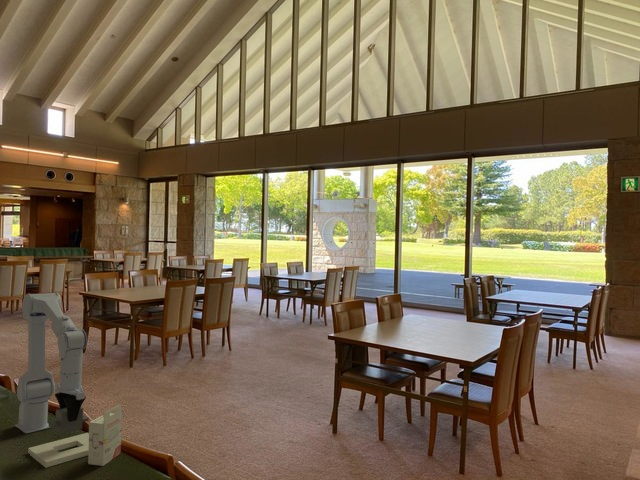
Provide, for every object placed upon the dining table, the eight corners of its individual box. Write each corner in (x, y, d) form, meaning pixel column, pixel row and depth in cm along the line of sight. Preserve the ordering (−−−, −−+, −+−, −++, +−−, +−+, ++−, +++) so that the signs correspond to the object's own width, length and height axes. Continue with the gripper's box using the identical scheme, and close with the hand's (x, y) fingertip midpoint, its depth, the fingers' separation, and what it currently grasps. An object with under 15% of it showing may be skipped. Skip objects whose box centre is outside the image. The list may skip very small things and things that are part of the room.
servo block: (47, 432, 142) (48, 409, 142) (83, 423, 150) (83, 401, 150) (53, 436, 140) (54, 412, 140) (89, 427, 147) (89, 404, 147)
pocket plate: (27, 453, 142) (28, 448, 142) (87, 437, 155) (87, 432, 155) (45, 467, 134) (45, 462, 134) (107, 449, 147) (107, 444, 147)
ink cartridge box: (106, 452, 145) (107, 401, 145) (121, 454, 144) (123, 403, 144) (86, 464, 137) (88, 411, 137) (102, 466, 136) (104, 412, 136)
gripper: (46, 369, 147) (44, 415, 147) (67, 379, 137) (65, 428, 137) (71, 365, 152) (69, 410, 152) (92, 375, 143) (90, 422, 142)
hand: (69, 418), depth 145 cm, fingers closed on servo block, 4 cm apart
